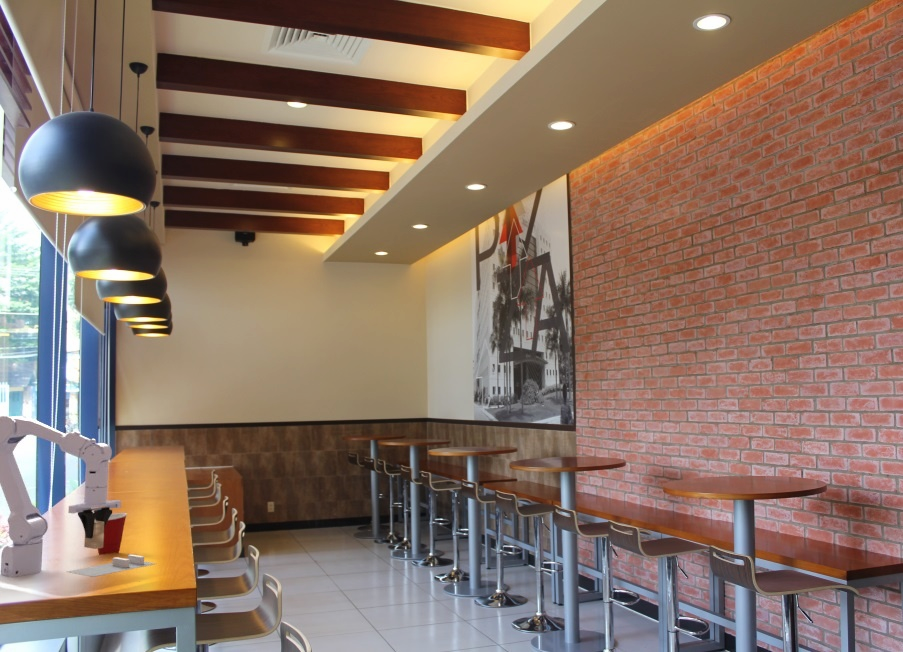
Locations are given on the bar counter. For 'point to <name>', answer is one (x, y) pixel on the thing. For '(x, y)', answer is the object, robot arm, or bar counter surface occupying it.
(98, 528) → the wooden block
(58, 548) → the bar counter surface
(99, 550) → the plastic cup
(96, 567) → the clip board
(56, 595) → the bar counter surface
